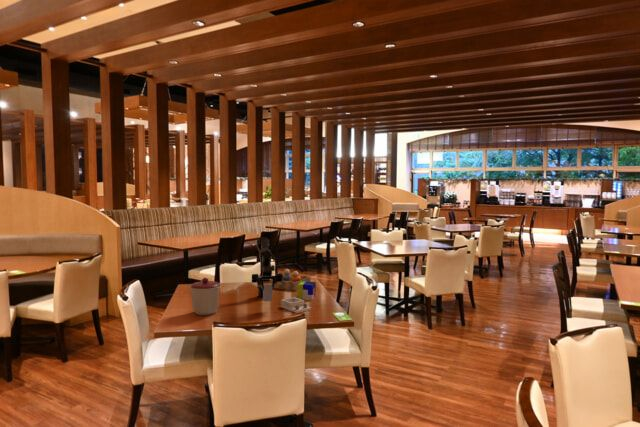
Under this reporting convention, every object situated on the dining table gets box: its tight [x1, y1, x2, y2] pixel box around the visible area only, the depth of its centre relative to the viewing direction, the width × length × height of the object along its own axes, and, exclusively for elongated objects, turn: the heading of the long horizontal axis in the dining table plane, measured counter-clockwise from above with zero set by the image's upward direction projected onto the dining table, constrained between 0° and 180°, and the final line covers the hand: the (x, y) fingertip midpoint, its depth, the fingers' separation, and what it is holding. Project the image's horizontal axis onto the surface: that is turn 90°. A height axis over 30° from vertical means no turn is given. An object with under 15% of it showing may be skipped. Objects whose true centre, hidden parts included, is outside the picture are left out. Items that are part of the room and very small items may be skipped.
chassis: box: [280, 296, 312, 314], centre depth 273 cm, size 17×11×4 cm, turn 39°
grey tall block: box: [262, 281, 273, 302], centre depth 266 cm, size 5×5×11 cm
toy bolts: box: [283, 268, 301, 282], centre depth 335 cm, size 18×17×12 cm
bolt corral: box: [270, 273, 312, 292], centre depth 333 cm, size 23×24×6 cm
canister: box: [188, 277, 222, 316], centre depth 261 cm, size 18×18×21 cm
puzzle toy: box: [297, 281, 317, 301], centre depth 299 cm, size 10×10×10 cm
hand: (267, 289), depth 265 cm, fingers closed on grey tall block, 5 cm apart
